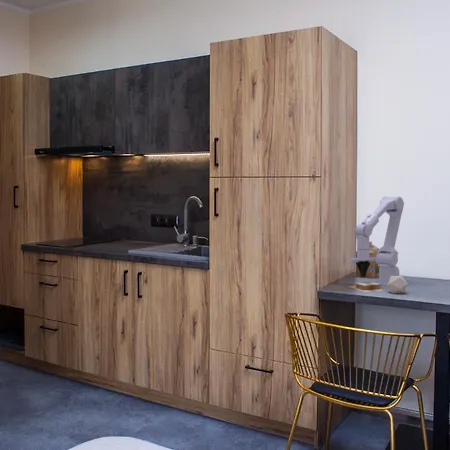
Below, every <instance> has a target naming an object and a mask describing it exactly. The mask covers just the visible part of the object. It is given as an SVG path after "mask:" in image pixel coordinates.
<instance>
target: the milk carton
mask: <svg viewBox="0 0 450 450" xmlns="http://www.w3.org/2000/svg"><path fill="white" fill-rule="evenodd" d="M379 249H380V248H379V247H377V246H376V245H375V244H373V242H372V240H371V241H369V257H376V255H377V253H378V251H379ZM355 258H357V250H355ZM365 261H367V260H365ZM369 263H370V266H369V267H368V270H367V272H366V276H365V277H361V275H360V271H359V269H358V266H357V265H356V264H355V278H358V277H359V278H360V279H361V278H362V279H371V280H373V279H375V280H376V279H379V266H378V264H377V262H375V261H374V262H369ZM359 278H358V279H359Z"/></svg>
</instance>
